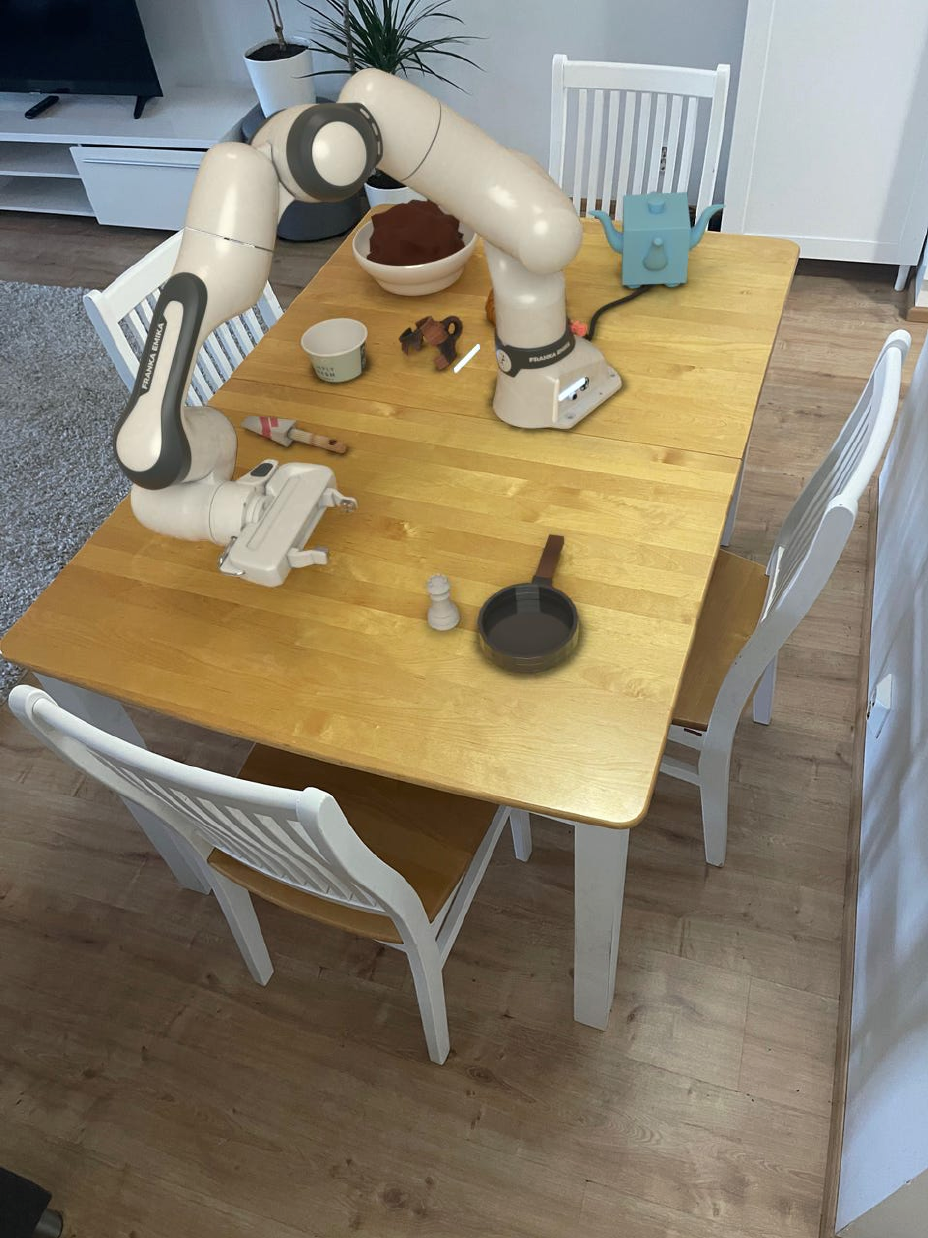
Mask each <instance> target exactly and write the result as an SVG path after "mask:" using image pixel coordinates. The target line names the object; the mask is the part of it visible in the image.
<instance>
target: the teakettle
mask: <svg viewBox="0 0 928 1238" xmlns="http://www.w3.org/2000/svg"><path fill="white" fill-rule="evenodd" d="M725 207H726V204H722V203H721V204H720V203H718V204H712V205H711V204H710V205H709V206H707V207H706V208H705V209H703V211H702V212H701V213H700V215H699V217H698V219H697V222H696V223H695V224H694V226H691V218H690V217H689V214H690V209H689V200H688V192H686V191H681V192H662V193H661V192H660V193H659V192H658V191H650V192H649V193H642V194H624V195H623V196H622V222H621V231H618V229H616V228H615V226H614V224H613V221H612V219H611V217H610V215H609V214H608V213H607V212H606V211H604V210H599V209H595V210H594V209H593V210H589V211H587V214H589V215H591V216H593V217H595V218H596V219H598V220H599V222H600V223H601V225H602V227H603V231H604V234H605V237H606V242H607V243H608V245H609V247H610V248H611V250H613V251H614V252H615V253H617V254H619V255H621V285H622V286H626V287H627V288H630V289H638V288H640V287H642V285H649V284H657V285H662V284H663V285H664V286H666V287H668V288H675V287H678V286H679V285H681V284H686V283H687V278H688V267H689V254H690V251H691V250H693V249H694V248H696V247H697V246H698V245H699V244H700V242H701V240H702V239H703V236H704V234H705V231H706V229H707V227H708V224H709V222H710V219H712V218H713V216H714V214H716V213H717V212H718V211H721V210H722V209H724V208H725Z"/></svg>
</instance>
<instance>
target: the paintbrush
mask: <svg viewBox="0 0 928 1238" xmlns="http://www.w3.org/2000/svg"><path fill="white" fill-rule="evenodd" d="M296 423H297V420H296V419H288V418H279V417H278V418H277V417H268V416H256V415H247V417H246V418H245V419H244V420H243V421H242V422H241V423H240V426H241V427H242V428H245V429H248V430H249V431H251V432H254V433H256V434H258V435H260V436H263V437H265V438H267V439H269V440H272V441H274V442H275V443H278V444H280V445H282V446H284V447H289V446H290V445H291V444H292V442H293V441H296V442H299V443H303V444H307V445H311V446H315V447H318V448H322V449H326V450H329V451H333V452H336V453H340V454H345V452H346V451H347V447H348V446H347V444H348V443H346V442H345V441H341V440H337V439H333V438H330V437H326V436H323V435H319V434H315V433H311V432H308V431H304V430H301V429H297V427H296Z"/></svg>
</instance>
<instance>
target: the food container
mask: <svg viewBox="0 0 928 1238" xmlns="http://www.w3.org/2000/svg"><path fill="white" fill-rule="evenodd" d="M368 335H369V333H368V328H367V327H366V325H365V324H363V323H362V322H361V321H359V320H356V319H353V318H347V317H338V318H331V319H327V320H323V321H320V322H317V323H316V324H314V325H312V326H310V327H308V329H307V330H306V331H304V333H303V334H302V336H301V339H300V345H301V347H302V349H303V351H305V352H306V354H307V356H308V358H309V360H310V362H311V364H312V367H313V369H314V371H315V373H316V375H317V377H318V378H319V379H320V380H323V381H325V382H329V383H343V382H347V381H350V380H353V379H355V378H358V377H359V376H360V375H361V374H362V373H363V372H364V371H365V369H366V367H367V344H366V343H367V338H368Z"/></svg>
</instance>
